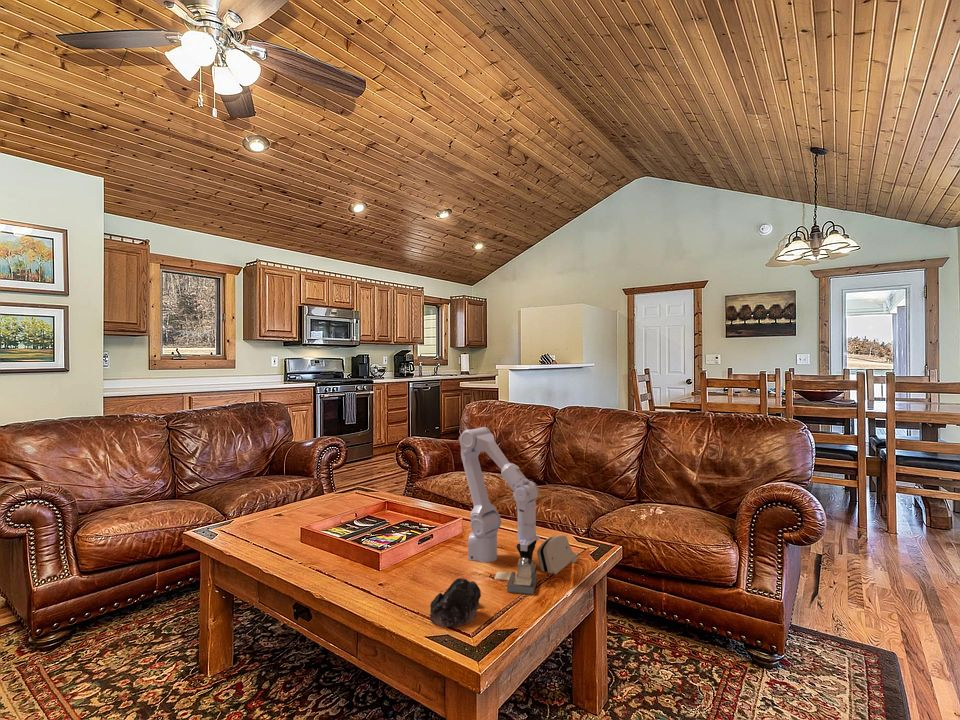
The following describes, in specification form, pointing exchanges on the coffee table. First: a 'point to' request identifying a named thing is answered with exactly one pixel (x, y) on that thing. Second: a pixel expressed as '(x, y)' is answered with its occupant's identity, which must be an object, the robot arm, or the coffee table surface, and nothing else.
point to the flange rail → (522, 583)
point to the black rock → (456, 604)
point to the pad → (503, 575)
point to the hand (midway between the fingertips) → (527, 565)
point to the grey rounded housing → (555, 554)
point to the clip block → (525, 567)
